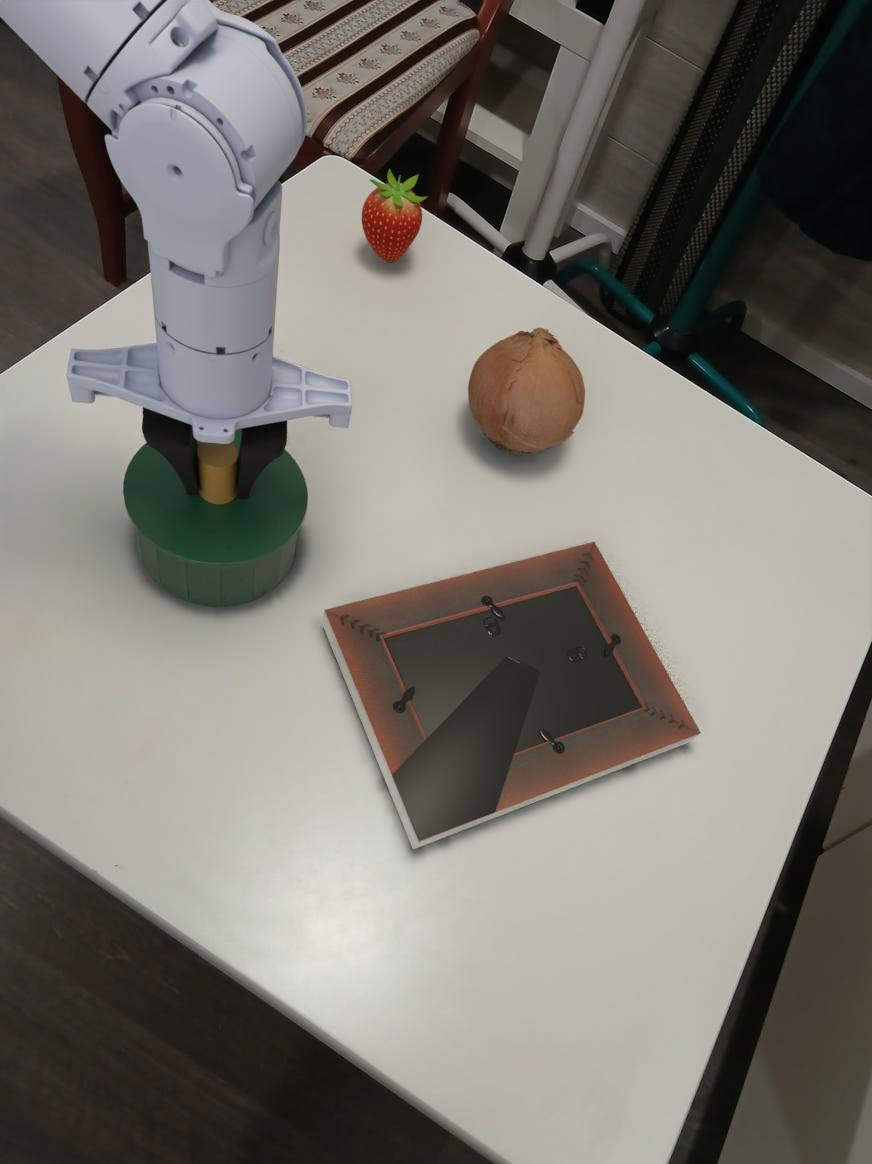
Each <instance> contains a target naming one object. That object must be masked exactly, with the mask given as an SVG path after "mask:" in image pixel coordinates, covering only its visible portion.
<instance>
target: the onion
mask: <svg viewBox="0 0 872 1164" xmlns="http://www.w3.org/2000/svg"><path fill="white" fill-rule="evenodd" d="M556 337H557V335H554V334H552V333H551V332H549V329H548V328H545V327H537V328H534V329H533V330H532V331H531V332H529V331H525V330H519V331H518V332H516V333H514V334H512V335H510V336H507V337H506V338H503V339H501V340H499V341H497V342H496V343H493V345H490V347H488V348H487V349H486V350H485V351H484V352H483V353H481V355H480V356H479V357H478V358H477V360H476V361H475V362H474V365H473V367H472V369H471V373H470V376H469V380H468V386H467V387H468V388H467V396H468V397H467V398H468V406H469V409H470V412H471V416H472V417H473V419H474V421H475V422H476V424H477V426H478V427H479V429H480V430H481V432H483V433H482V434H483V435H485V436H486V437H487V439H488V440H489V441H490V442H491V443H493V444H492V445H494V447H495V448H497V449H499V450H502V451H504V452H507V453H509V454H515V455H519V456H522V454H524V453H536V452H542V451H544V450H548V449H549V448H552V447H553V446H556V445H558V444H560V445H562V444H563V443H565V442H566V441H568V440H569V439H570V438H571V437H572V435H574V433H575V431H573V430H574V429H576V427H577V425H578V424H579V422H580V420H581V418H582V416H583V413H584V408H585V401H586V400H585V399H586V388H585V381H584V378H583V375H582V372H581V370H580V368H579V366H578V365H577V363H576V362H575V361H574V359H573V358H572V357H571V356H570V354H569V353H568V352H567V351H565V350H564V349H563V346H562V345H560V341H559V340H558V339H557V338H556Z"/></svg>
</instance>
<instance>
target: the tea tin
mask: <svg viewBox="0 0 872 1164" xmlns="http://www.w3.org/2000/svg"><path fill="white" fill-rule="evenodd" d="M133 527H134V526H133ZM298 534H299V531H298V532H297V534H296V535H295V536H294V538H293V539H292V540H291V541H290V542H289V543H288V544H287V545H286V546H285V547H283V548H282V549H281V550H280V551H278V552H277V553H275V554H273V555H272V556H270V557H268V558H266V559H264V560H261V561H258V562H255V563H253V564H249V565H244V566H240V567H231V568H211V567H202V566H197V565H192V564H188V563H185V562H182V561H179V560H177V559H174V558H172V557H170V556H168V555H166V554H164V553H163V552H161V551H159V550H158V549H156V548H155V547H154V546H152V545H151V544H150V543H149V542H147V541H146V540H145V539H144V538H143V537H142V536H141V534H140V533H139V532H138V531H137V529H136V528H135V527H134V535H135V540H136V543H137V548H138V553H139V557H140V560H141V564H142V565H143V566H144V568H145V570H146V572H147V574H149V576H150V577H151V579H152V580H154V582H155V583H157V585H158V586H160V587H161V588H162V589H164V590H165V591H166V592H167V593H170V594H171V595H173V596H175V597H176V598H179V599H181V600H183V601H185V602H189V603H192V604H196V605H200V606H208V607H216V608H217V607H219V608H220V607H233V606H239V605H243V604H247V603H251V602H252V601H256V600H257V599H260V598H261V597H264V596H265V595H267V594H268V593H270V592H271V591H273V589H275V588H276V587H277V586H278V585H279V584H281V582H283V580H284V579H285V578H286V576H287V575H288V573H289V572H290V569H291V568H292V565H293V563H294V560H295V554H296V546H297V540H298Z"/></svg>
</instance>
